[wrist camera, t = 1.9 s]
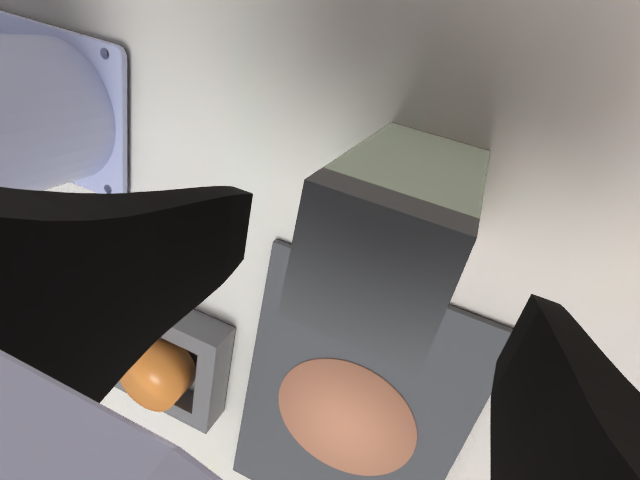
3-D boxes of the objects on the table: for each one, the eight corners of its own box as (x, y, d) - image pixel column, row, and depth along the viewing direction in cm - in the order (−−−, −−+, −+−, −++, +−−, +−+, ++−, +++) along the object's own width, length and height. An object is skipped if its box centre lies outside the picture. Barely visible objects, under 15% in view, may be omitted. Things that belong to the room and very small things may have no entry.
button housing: (136, 367, 30) (114, 386, 29) (137, 283, 27) (112, 299, 25) (223, 411, 29) (205, 434, 27) (236, 327, 25) (216, 348, 24)
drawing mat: (236, 465, 30) (232, 471, 30) (276, 238, 22) (272, 242, 22) (402, 553, 28) (400, 561, 27) (521, 331, 19) (521, 338, 19)
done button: (140, 372, 28) (117, 393, 26) (141, 323, 26) (116, 342, 25) (193, 398, 27) (172, 422, 25) (198, 350, 25) (176, 372, 24)
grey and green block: (366, 210, 20) (277, 315, 12) (391, 122, 18) (304, 179, 10) (454, 240, 19) (418, 375, 11) (490, 150, 17) (477, 237, 9)
